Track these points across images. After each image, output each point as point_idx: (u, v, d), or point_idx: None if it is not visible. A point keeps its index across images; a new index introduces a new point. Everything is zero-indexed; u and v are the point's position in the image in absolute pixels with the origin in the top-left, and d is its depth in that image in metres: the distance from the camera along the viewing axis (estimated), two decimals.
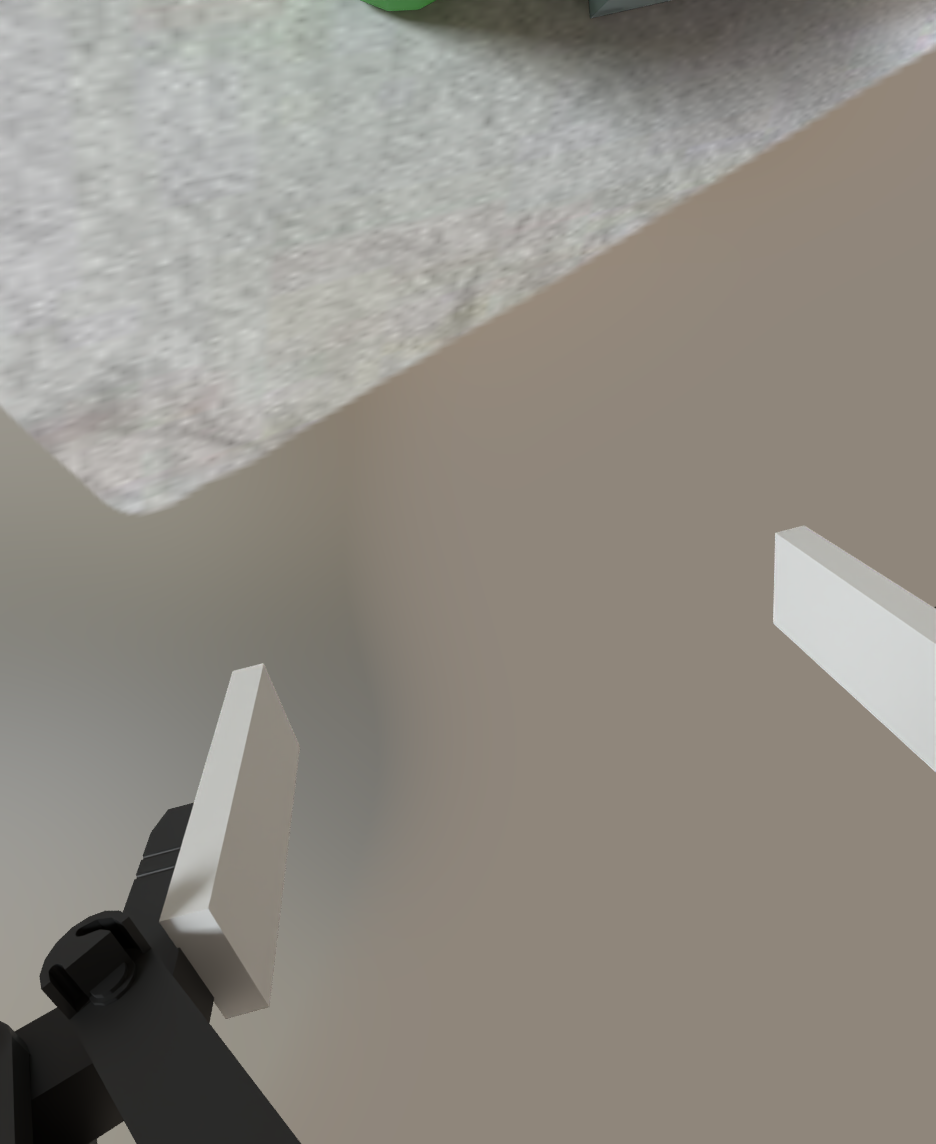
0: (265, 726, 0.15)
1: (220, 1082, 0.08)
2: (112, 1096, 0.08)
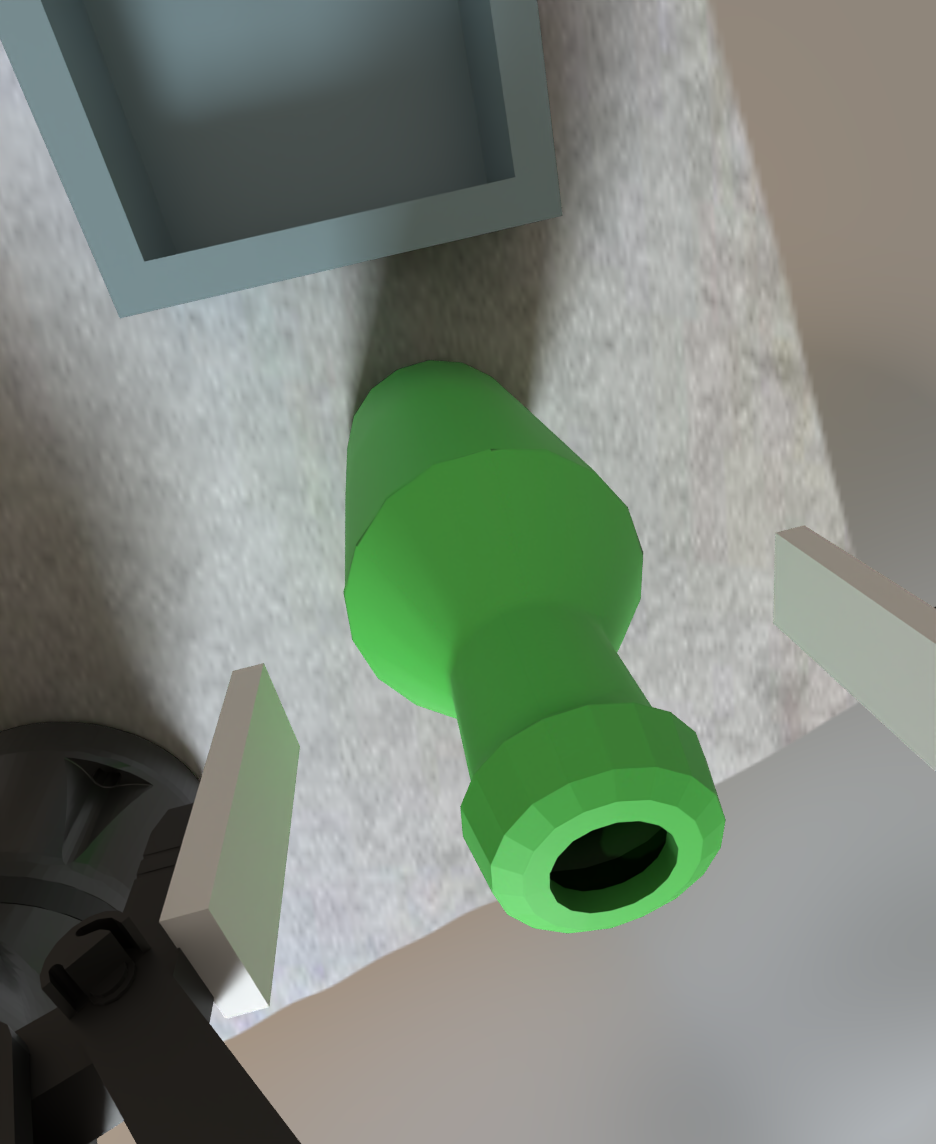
0: (265, 726, 0.15)
1: (221, 1082, 0.08)
2: (112, 1096, 0.08)
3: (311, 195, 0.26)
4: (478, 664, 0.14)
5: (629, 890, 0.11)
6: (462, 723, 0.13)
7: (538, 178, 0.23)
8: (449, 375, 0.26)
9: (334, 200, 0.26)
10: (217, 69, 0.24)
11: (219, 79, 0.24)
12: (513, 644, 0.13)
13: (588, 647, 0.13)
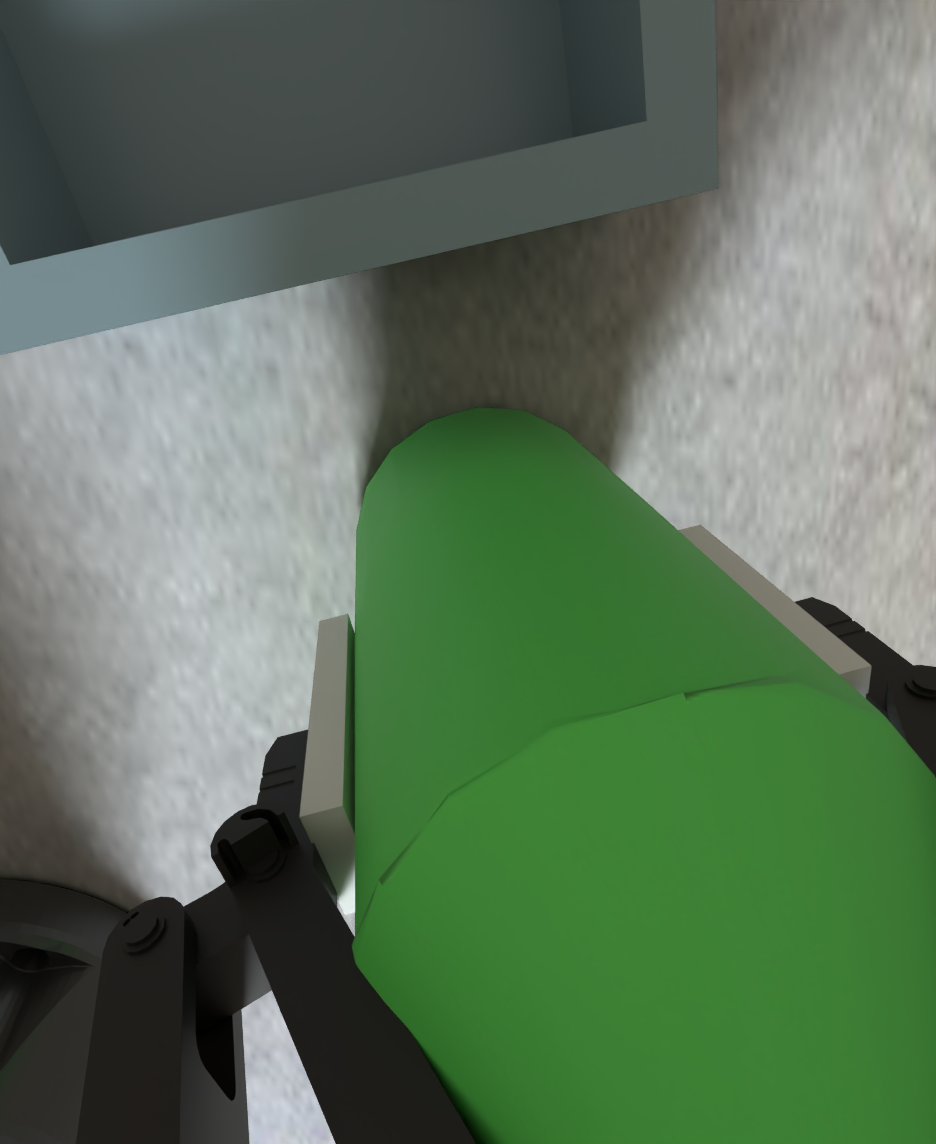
0: None
1: (349, 971, 0.09)
2: (260, 959, 0.09)
3: (303, 160, 0.17)
4: None
5: None
6: None
7: (685, 124, 0.13)
8: (515, 441, 0.17)
9: (339, 168, 0.17)
10: None
11: None
12: None
13: None
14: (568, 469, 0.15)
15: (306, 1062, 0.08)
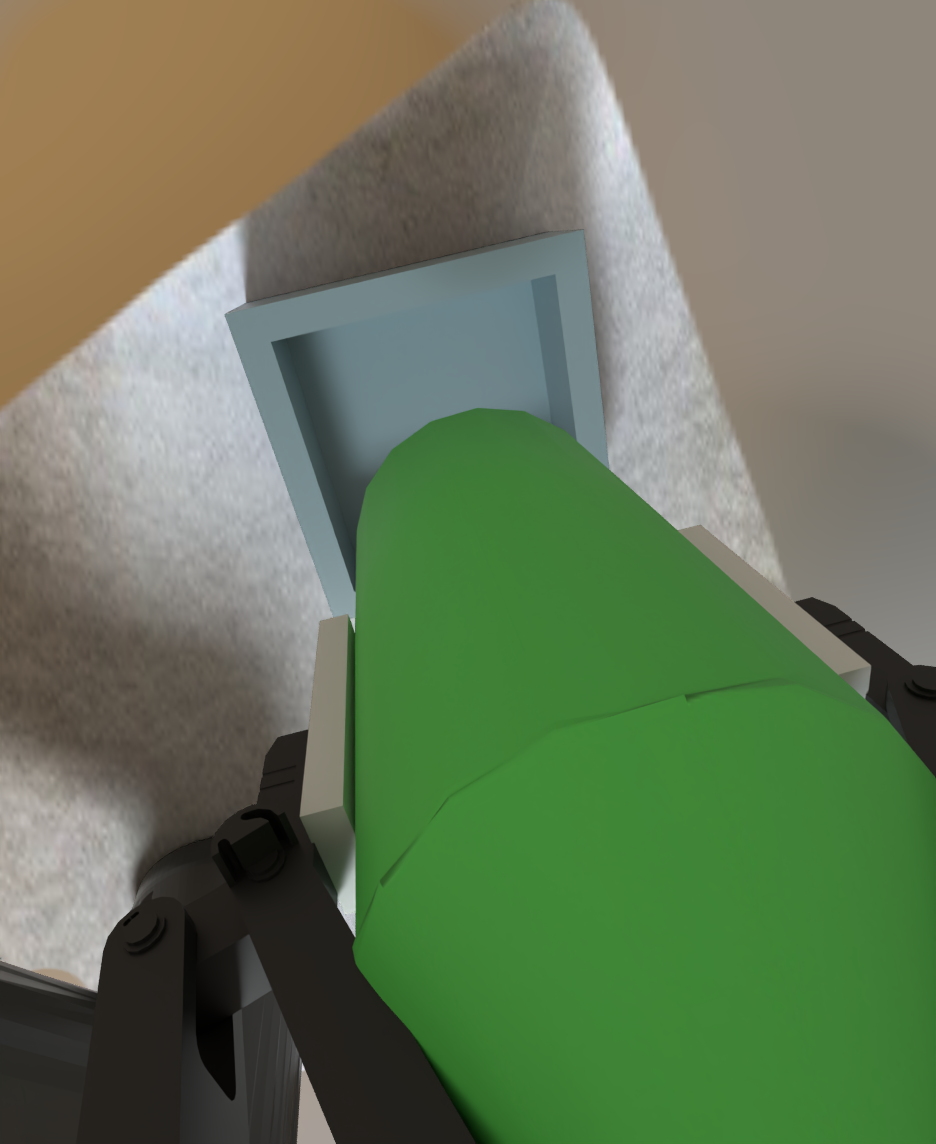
0: None
1: (350, 969, 0.09)
2: (260, 959, 0.09)
3: None
4: None
5: None
6: None
7: None
8: (516, 441, 0.17)
9: None
10: (391, 448, 0.37)
11: None
12: None
13: None
14: (568, 470, 0.15)
15: (306, 1061, 0.08)
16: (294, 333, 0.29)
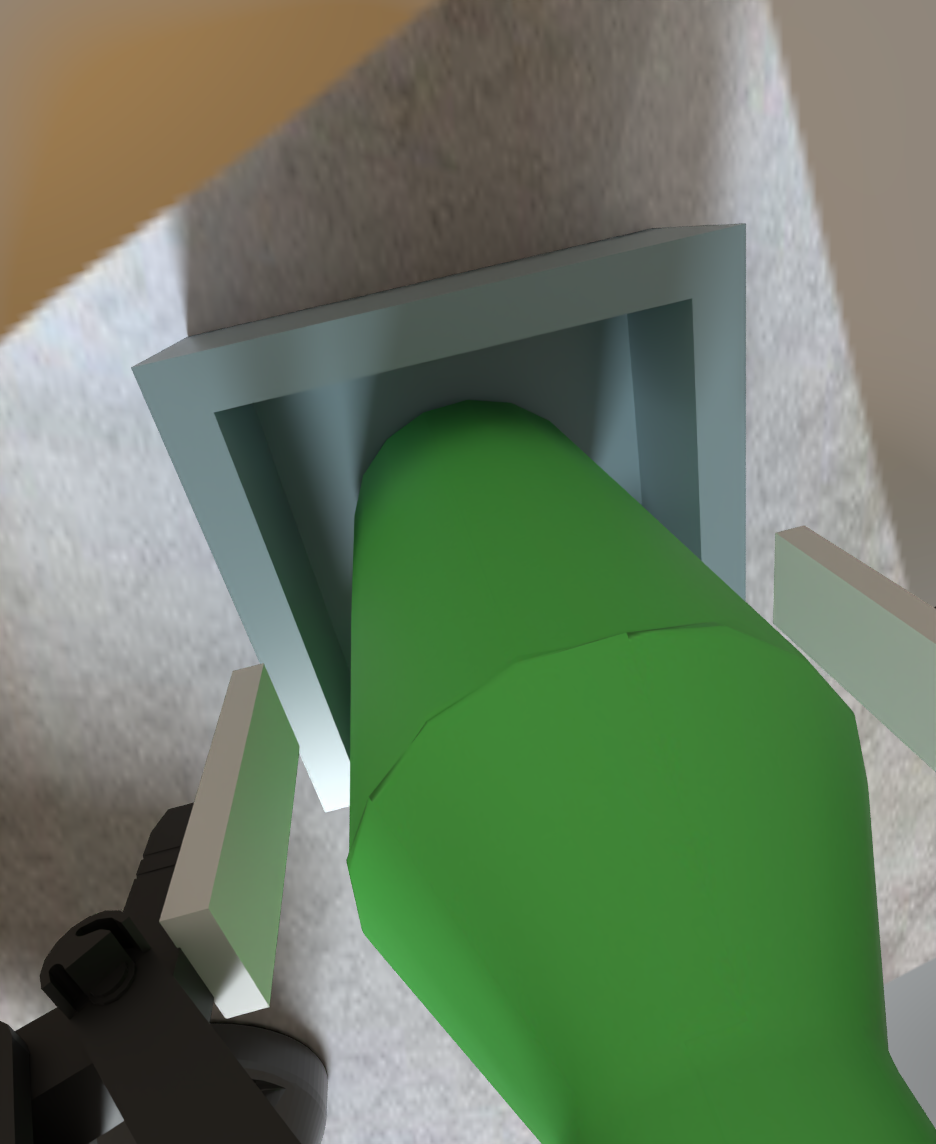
0: (265, 726, 0.15)
1: (221, 1082, 0.08)
2: (112, 1096, 0.08)
3: None
4: None
5: None
6: None
7: None
8: (501, 429, 0.18)
9: None
10: None
11: None
12: None
13: None
14: (547, 454, 0.16)
15: None
16: (253, 398, 0.17)
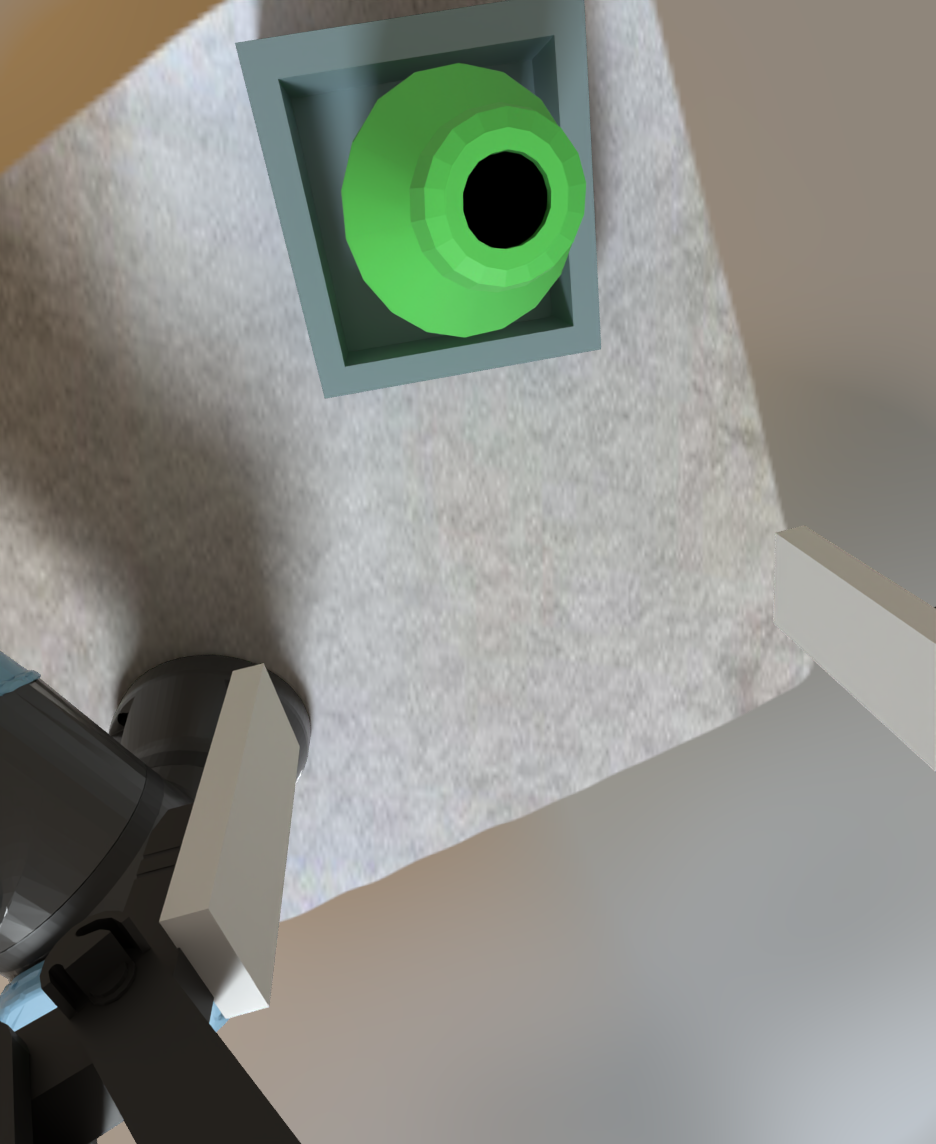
0: (265, 726, 0.15)
1: (221, 1082, 0.08)
2: (112, 1096, 0.08)
3: None
4: None
5: (520, 244, 0.16)
6: None
7: (588, 327, 0.37)
8: None
9: None
10: None
11: None
12: None
13: None
14: None
15: None
16: (301, 72, 0.30)
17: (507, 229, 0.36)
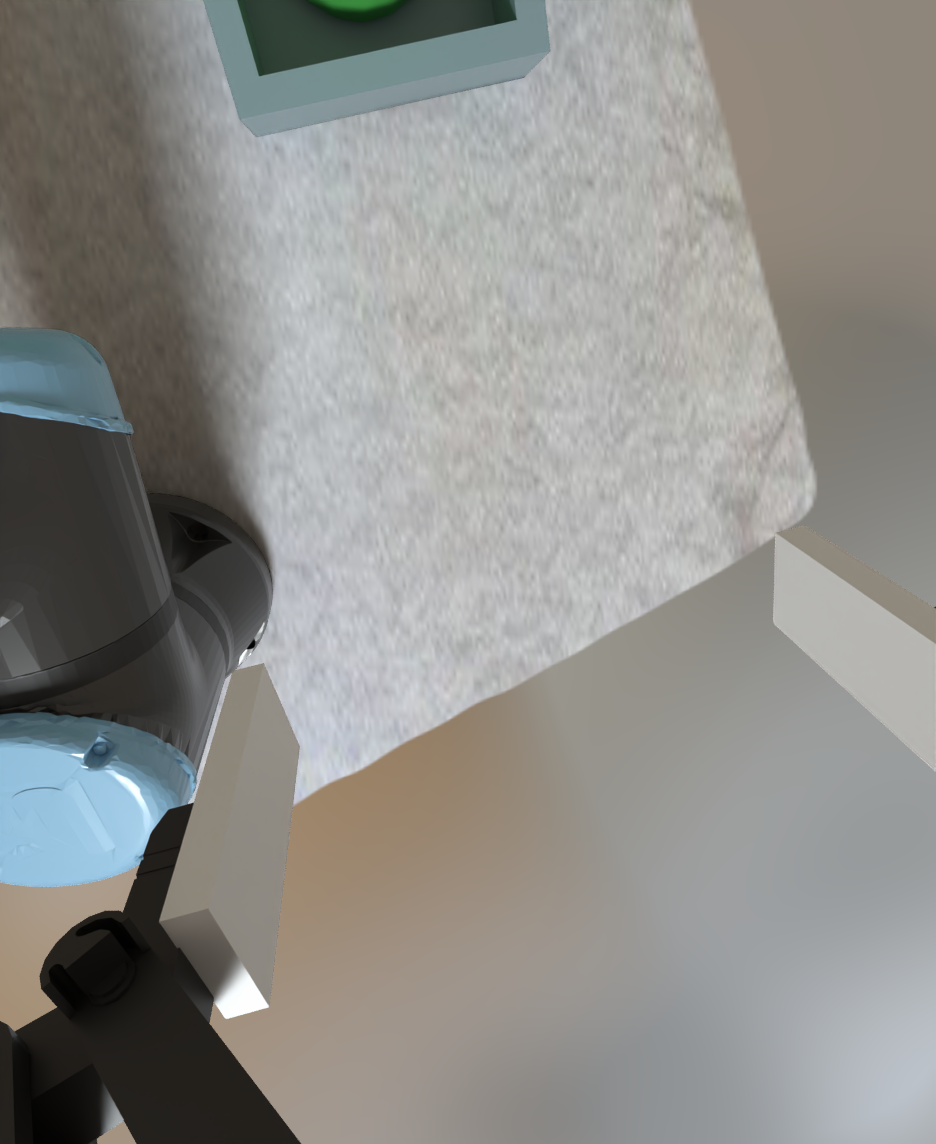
0: (265, 726, 0.15)
1: (220, 1082, 0.08)
2: (112, 1096, 0.08)
3: (368, 48, 0.36)
4: None
5: None
6: None
7: (533, 21, 0.32)
8: None
9: None
10: None
11: None
12: None
13: None
14: None
15: None
16: None
17: None
